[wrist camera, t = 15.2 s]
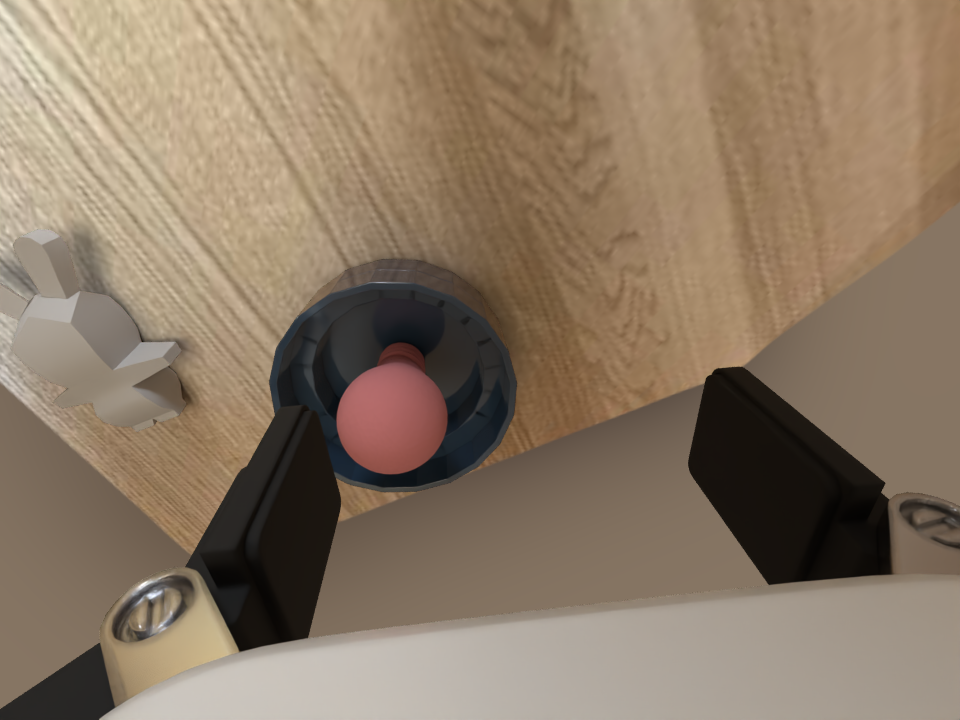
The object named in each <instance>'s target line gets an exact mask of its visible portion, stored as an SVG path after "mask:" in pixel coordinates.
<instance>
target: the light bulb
mask: <svg viewBox="0 0 960 720" xmlns="http://www.w3.org/2000/svg"><path fill="white" fill-rule="evenodd" d="M447 416H448V415H447V408H446V403H445V400H444V397H443V395H442V393H441V391H440V390H439V388H438V387H437V385H436V384H435V383H434V382H433V381H432V380H431V379H430V378H429V377H428V376H427V375H425V360H424V357H423V355H422V354H421V352H420V351H419V350H418V349H417V348H416V347H414V346H413V345H411V344H408V343H401V342H399V343H394V344H391V345H389V346H388V347H387V348H386V349H385V350H384V351H383V352H382V353H381V356H380V358H379V361H378V364H377V367H375V368H372V369H369V370H368V371H366V372H364V373H362V374H361V375H360V376H358V377H357V378H356V379H355V380H354V381H353V382H352V383H351V384H350V385H349V386H348V388H347V389H346V391H345V392H344V394H343V396H342V398H341V400H340V403H339V407H338V411H337V431H338V434H339V438H340V441H341V443H342V445H343V447H344V449H345V450H346V452H347V453H348V454H349V455H350V457H351V458H352V459H353V460H354V461H355V462H357V463H358V464H359V465H361V466H363V467H364V468H366V469H368V470H371V471H374V472H377V473H382V474H400V473H404V472H408V471H411V470H413V469H416V468H417V467H419V466H421V465H422V464H424V463H425V462H426V461H428V460H429V459H430V458H431V457H432V456H433V455H434V454H435V452H436V451H437V449H438V448H439V446H440V445H441V443H442V441H443V439H444V436H445V432H446V428H447Z"/></svg>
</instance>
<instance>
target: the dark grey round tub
mask: <svg viewBox="0 0 960 720" xmlns="http://www.w3.org/2000/svg"><path fill="white" fill-rule="evenodd" d="M399 342H401V343H408V344H411V345H413V346H414V347H416V348H417V349H418V350H419V351H420V352H421V354H422V355H423V357H424V360H425V375H427V376H428V377H429V378H430V379H431V380H432V381H433V382H434V383H435V384H436V385H437V387H438V388H439V390H440V391H441V393H442V395H443V397H444V400H445V403H446V408H447V415H448V416H447V428H446V432H445V436H444V439H443V441H442V443H441V445H440V446H439V448H438V449H437V451H436V452H435V454H434V455H433V456H432V457H431V458H430V459H429V460H428V461H426V462H425V463H424V464H422V465H421V466H419V467H417V468H416V469H413V470H411V471H408V472H404V473H400V474H382V473H377V472H374V471H371V470H368V469H366V468H364V467H363V466H361V465H359V464H358V463H357V462H355V461H354V460H353V459H352V458H351V457H350V455H349V454H348V453H347V452H346V450H345V449H344V447H343V445H342V443H341V441H340V438H339V434H338V431H337V411H338V407H339V403H340V400H341V398H342V396H343V394H344V392H345V391H346V389H347V388H348V386H349V385H350V384H351V383H352V382H353V381H354V380H355V379H356V378H357V377H358V376H360V375H361V374H362V373H364V372H366V371H368V370H369V369H372V368H375V367H377V364H378V361H379V358H380V356H381V353H382V352H383V351H384V350H385V349H386V348H387V347H388V346H389V345H391V344H394V343H399ZM269 385H270V390H271V396H272V401H273V407H274V412H275V415H276V413H277V411H278V410H279V408H281V407H288V406H299V405H307V406H308V408H309V409H310V411H312V410H315V411H317V413H318V416H319V419H320V423H321V426H322V430H323V434H324V437H325V441H326V445H327V448H328V452H329V456H330V459H331V463H332V467H333V470H334V474H335V478H337V479H339V480H341V481H343V482H345V483H347V484H349V485H353V486H357V487H362V488H366V489H371V490H375V491H380V492H417V491H422V490H425V489H429V488H433V487H437V486H440V485H444V484H448V483H451V482H453V481H454V480H456V479H458V478H459V477H461V476H463V475H465V474H466V473H468V472H470V471H472V470H473V469H475V468H477V467H478V466H480V464H481V463H482V462H483V461H484V460H485V459H486V458H487V457H488V456H489V455H490V454H491V453H492V452H493V451H494V450H495V449H496V448H497V447H498V446H499V445H500V443H501V441H502V439H503V437H504V435H505V433H506V431H507V429H508V426H509V424H510V422H511V420H512V418H513V416H514V410H515V399H516V389H517V381H516V377H515V373H514V370H513V366H512V362H511V359H510V355H509V351H508V348H507V345H506V342H505V339H504V336H503V333H502V330H501V326H500V323H499V320H498V318H497V317H496V315H495V314H494V312H493V311H492V310H491V308H490V307H489V305H488V304H487V302H486V301H485V299H484V298H483V297H482V295H481V294H480V293H479V292H478V291H477V290H476V289H474V288H473V287H472V286H470V285H469V284H468V283H466V282H465V281H464V280H462V279H461V278H460V277H458V276H457V275H456V274H454V273H453V272H450V271H448V270H445V269H442V268H439V267H436V266H433V265H430V264H427V263H424V262H422V261H418V260H393V259H381V260H377V261H374V262H370V263H367V264H364V265H360V266H357V267H353V268H350V269H348V270H345V271H344V272H342V273H341V274H340V275H338V276H337V277H335V278H334V279H333V280H331V281H330V282H329V283H327V284H326V285H324V286H323V287H322V288H320V289H319V290H318V291H317V293H316V294H315V295H314V296H313V297H312V299H311V300H310V301H309V302H308V304H307V305H306V306H305V307H304V309H303V310H302V311H301V312H300V314H299V315H298V316H297V317H296V319H295V320H294V322H293V323H292V325H291V326H290V328H289V329H288V331H287V332H286V334H285V335H284V337H283V338H282V340H281V341H280V343H279V344H278V346H277V348H276V351H275V356H274V361H273V365H272V370H271V375H270V380H269Z"/></svg>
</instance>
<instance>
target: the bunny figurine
mask: <svg viewBox="0 0 960 720" xmlns="http://www.w3.org/2000/svg"><path fill="white" fill-rule="evenodd" d="M13 247H14V251H15V254H16V256H17V257H18V259H19V260H20V262H21V264H22V265H23V267H24V268H25V270H26V271H27V273H28V275H29V276H30V278H31V279H32V281H33V282H34V284H35V286H36V287H37V289H38V290H39V292H40V294H36V295H35V296H34V297H33V298H32V299H31V300H30V301H28V300H26V299H25V298H23V297H22V296H20V295H19V294H17V293H16V292H14V291H12V290H11V289H9V288H8V287H6V286H5V285H3V284H2V283H0V312H1V313H4V314H6V315H8V316H10V317H13V318H15V319H17V320H19V321H18V324H17V328H16V331H15V335H14V338H13V341H12V345H11V348H10V349H11V350H12V352H13V353H14V354H15V355H16V356H17V357H18V358H19V360H20V361H21V362H22V363H23V364H25V365H26V366H27V367H28V368H29V369H31V370H32V371H33V372H34V373H36V374H37V375H39V376H41V377H42V378H44V379H45V380H47V381H49V382H50V383H53V384H56V385H60V386H63V387H66V388H67V389H66V390H65V391H64V392H63V393H61V394H60V395H59V396H58V397H57V398H56V399H55V400H54V401H53V402H52V403H54V404H55V405H57V406H59V407H61V408H62V409H63V408H68V407H73V406H78V405H82V404H87V403H92V404H93V407H94V411H95V414H96V416H98V417H99V418H100V419H101V420H102V421H103V422H104V423H107V424H110V425H113V426H118V427H132V428H133V429H134V430H135V431H136V432H138V431H141V430H144V429H146V428H149V427H151V426H154V425H155V424H156V422H157V421H160V422H164V421H166V420H169V419H171V418H174V417H176V416H179V415H180V413H181V412H182V410H183V409H184V407H185V406H186V405H187V403H186V402H185V401H184V400H183V399H182V392H181V384H180V382H179V379H178V377H177V374H176V373H175V372H174V371H173V370H171V369H170V368H169V367H168V366H169V365H170V364H171V363H172V362H173V361H174V360H175V358H176V357H177V356H178V355H179V354H180V352H181V349H180V348H179V346H178V344H177V343H176V342H141V338H140V335H139V332H138V328H137V327H136V325H135V324H134V322H133V320H132V319H131V317H130V316H129V315H128V314H127V313H126V312H125V310H124V309H123V308H122V307H121V306H120V305H119V304H118V303H117V302H115V301H114V300H113V299H112V298H111V297H110V296H108V295H103V294H97V293H92V292H86V291H80V288H79V284H78V280H77V277H76V273H75V270H74V266H73V262H72V259H71V255H70V252H69V248H68V246H67V244H66V243H65V241H64V240H63V238H62V237H61V236H60V235H58V234H56V233H54V232H53V231H51V230H45V229H37V230H34V231H32V232H30V233H27V234H25V235H23V236H21V237H19V238H17V239H16V240H15V242H14V244H13Z"/></svg>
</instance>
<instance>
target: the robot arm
mask: <svg viewBox="0 0 960 720" xmlns="http://www.w3.org/2000/svg"><path fill="white" fill-rule="evenodd" d="M688 466H689V471H690V473H691V475H692V477H693V478H694V480H695V481H696V483H697V484H698V485H699V487H700V488H701V490H702V491H703V492H704V494H705V495H706V497H707V498H708V499H709V501H710V502H711V504H712V505H713V507H714V508H715V509H716V511H717V512H718V514H719V515H720V516H721V518H722V519H723V521H724V522H725V524H726V525H727V526H728V528H729V529H730V531H731V532H732V533H733V535H734V536H735V538H736V539H737V541H738V542H739V543H740V545H741V546H742V548H743V549H744V550H745V552H746V553H747V555H748V556H749V557H750V559H751V560H752V562H753V563H754V565H755V566H756V567H757V569H758V570H759V572H760V573H761V574H762V576H763V577H764V579H765V580H766V581H767V583H768V584H769V585H766V586H757V587H746V588H737V589H727V590H717V591H708V592H699V593H689V594H679V595H670V596H661V597H652V598H642V599H634V600H624V601H616V602H607V603H597V604H589V605H579V606H570V607H561V608H552V609H543V610H536V611H525V612H516V613H508V614H499V615H491V616H482V617H473V618H465V619H457V620H448V621H440V622H431V623H422V624H414V625H405V626H396V627H388V628H381V629H374V630H366V631H358V632H351V633H343V634H336V635H328V636H321V637H313V638H308V635H309V632H310V628H311V624H312V620H313V616H314V612H315V608H316V604H317V600H318V596H319V592H320V588H321V584H322V580H323V576H324V572H325V568H326V564H327V560H328V556H329V553H330V549H331V545H332V541H333V537H334V533H335V529H336V525H337V521H338V517H339V513H340V508H341V497H340V492H339V489H338V485H337V481H336V478H335V474H334V470H333V467H332V463H331V459H330V456H329V452H328V448H327V445H326V441H325V437H324V434H323V430H322V426H321V423H320V419H319V416H318V413H317V411H315V410H312V411H310V409H309V408H308V406H307V405H299V406H288V407H281V408H279V410H278V411H277V413H276V415H275V417H274V418H273V420H272V422H271V424H270V426H269V427H268V429H267V431H266V433H265V435H264V436H263V438H262V440H261V442H260V444H259V445H258V447H257V449H256V451H255V453H254V455H253V456H252V458H251V460H250V462H249V464H248V465H247V467H245V468H243V469H241V471H240V472H239V473H238V475H237V476H236V478H235V480H234V482H233V484H232V485H231V487H230V489H229V491H228V492H227V494H226V496H225V498H224V499H223V501H222V503H221V505H220V506H219V508H218V510H217V512H216V514H215V515H214V517H213V519H212V521H211V522H210V524H209V526H208V528H207V529H206V531H205V533H204V535H203V536H202V538H201V540H200V542H199V544H198V545H197V547H196V549H195V551H194V552H193V554H192V556H191V558H190V559H189V561H188V563H187V565H186V566H185V567H184V568H172V569H167V570H164V571H160V572H158V573H155V574H153V575H151V576H149V577H147V578H145V579H143V580H142V581H140V582H139V583H137V584H136V585H134V586H133V587H131V588H130V589H129V590H128V591H126V592H125V593H124V594H123V595H122V596H121V597H120V598H119V599H118V600H117V601H116V602H115V603H114V604H113V606H112V607H111V608H110V610H109V611H108V612H107V614H106V615H105V618H104V620H103V622H102V625H101V627H100V643H98V644H97V645H95V646H94V647H93V648H91V649H89V650H88V651H86V652H85V653H83V654H82V655H80V656H79V657H77V658H76V659H75V660H73V661H71V662H70V663H68V664H67V665H66V666H64V667H63V668H61V669H59V670H58V671H56V672H55V673H54V674H52V675H51V676H49V677H48V678H46V679H45V680H43V681H42V682H40V683H39V684H37V685H36V686H34V687H33V688H31V689H30V690H28V691H27V692H25V693H24V694H22V695H21V696H19V697H18V698H16V699H15V700H13V701H12V702H10V703H9V704H7V705H6V706H4V707H3V708H1V709H0V720H960V506H958V505H956V504H954V503H952V502H949V501H946V500H944V499H941V498H938V497H934V496H931V495H926V494H922V493H908V492H907V493H901V494H896V495H895V496H893V497H892V498H891V499H888V498H887V497H885V496H884V495H883V494H882V493H881V491H882V489H883V487H884V485H885V482H884V481H882V480H881V479H880V478H879V477H877V476H876V475H875V474H874V473H873V472H871V471H870V470H869V469H868V468H866V467H865V466H864V465H863V464H862V463H860V462H859V461H858V460H857V459H855V458H854V457H853V456H852V455H850V454H849V453H848V452H847V451H846V450H844V449H843V448H842V447H841V446H840V445H838V444H837V443H836V442H835V441H833V440H832V439H831V438H830V437H828V436H827V435H826V434H825V433H824V432H822V431H821V430H820V429H819V428H817V427H816V426H815V425H814V424H813V423H811V422H810V421H809V420H808V419H806V418H805V417H804V416H803V415H802V414H800V413H799V412H798V411H797V410H795V409H794V408H793V407H792V406H791V405H789V404H788V403H787V402H786V401H784V400H783V399H782V398H781V397H780V396H778V395H777V394H776V393H775V392H773V391H772V390H771V389H770V388H768V387H767V386H766V385H765V384H764V383H762V382H761V381H760V380H759V379H758V378H756V377H755V376H754V375H752V374H751V373H750V372H749V371H748V370H746V369H745V368H743V367H729V368H718V369H716V370H714V371H713V373H712V375H709V376H708V377H707V378H706V381H705V385H704V390H703V394H702V399H701V404H700V408H699V413H698V418H697V423H696V427H695V432H694V436H693V441H692V446H691V450H690V455H689V460H688Z"/></svg>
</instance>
